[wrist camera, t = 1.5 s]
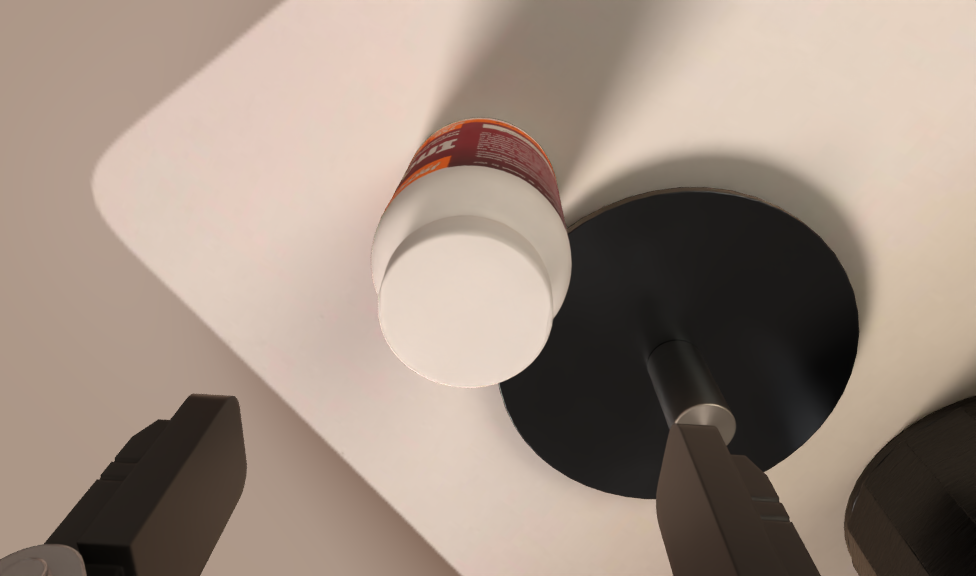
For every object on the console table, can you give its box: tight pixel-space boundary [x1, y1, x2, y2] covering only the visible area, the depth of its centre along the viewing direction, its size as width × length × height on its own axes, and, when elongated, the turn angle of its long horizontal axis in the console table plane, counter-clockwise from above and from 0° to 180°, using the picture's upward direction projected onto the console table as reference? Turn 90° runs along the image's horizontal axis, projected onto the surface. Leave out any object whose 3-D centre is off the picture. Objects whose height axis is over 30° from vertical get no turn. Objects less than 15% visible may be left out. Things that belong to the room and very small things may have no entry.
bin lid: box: [499, 187, 859, 499], centre depth 27 cm, size 16×16×6 cm
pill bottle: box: [371, 118, 572, 388], centre depth 22 cm, size 6×6×11 cm
